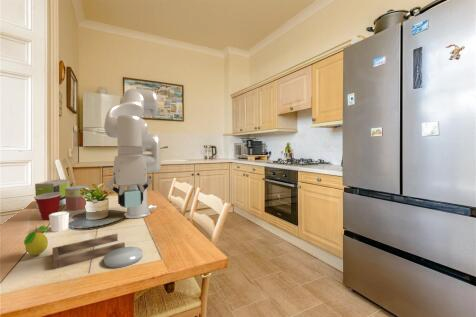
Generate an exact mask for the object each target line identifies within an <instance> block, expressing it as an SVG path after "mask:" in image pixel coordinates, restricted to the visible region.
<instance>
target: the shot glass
mask: <svg viewBox="0 0 476 317" xmlns="http://www.w3.org/2000/svg"><path fill="white" fill-rule="evenodd" d="M69 218H70V211H58V212H56V213H52V214H50V215H49V219H50V220H49V224H50V230H51V232H52V233H57V232H59V233H60V232H64V231H67V230H68V229H69V221H70V220H69Z"/></svg>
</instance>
